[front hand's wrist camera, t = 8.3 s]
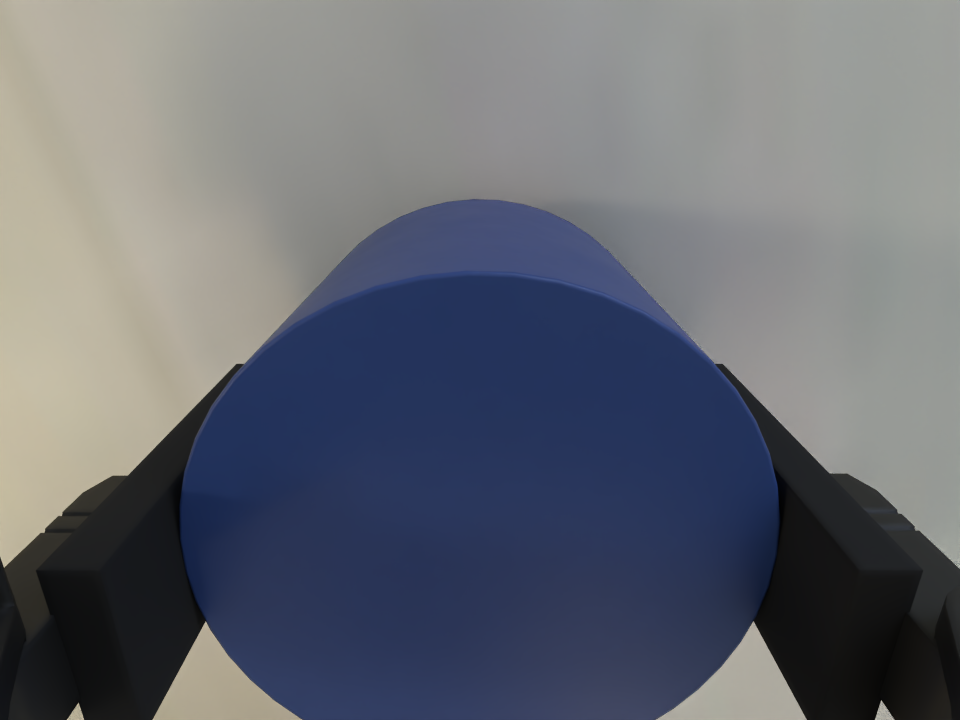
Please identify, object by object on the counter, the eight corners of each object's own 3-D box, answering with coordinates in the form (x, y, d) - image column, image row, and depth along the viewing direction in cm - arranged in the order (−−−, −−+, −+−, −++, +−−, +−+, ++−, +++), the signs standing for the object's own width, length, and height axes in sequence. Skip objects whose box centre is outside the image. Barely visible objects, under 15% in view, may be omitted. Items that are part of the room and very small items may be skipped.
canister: (515, 572, 18) (535, 833, 12) (243, 413, 16) (80, 617, 10) (728, 338, 16) (911, 505, 9) (432, 116, 14) (386, 118, 7)
